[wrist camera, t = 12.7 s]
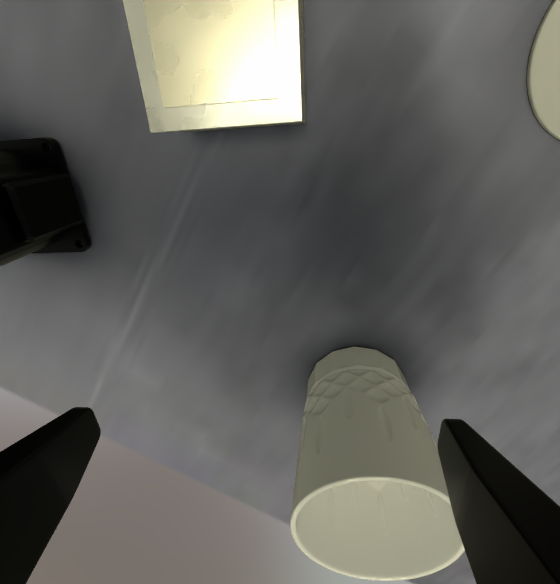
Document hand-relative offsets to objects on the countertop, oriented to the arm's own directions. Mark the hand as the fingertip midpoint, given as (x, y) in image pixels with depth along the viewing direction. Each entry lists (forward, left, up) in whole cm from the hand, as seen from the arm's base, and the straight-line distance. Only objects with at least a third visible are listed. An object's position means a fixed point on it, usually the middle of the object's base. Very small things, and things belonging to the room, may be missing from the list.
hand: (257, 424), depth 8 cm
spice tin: (-2, +10, -13) cm, 17 cm away
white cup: (+4, -10, -13) cm, 17 cm away
